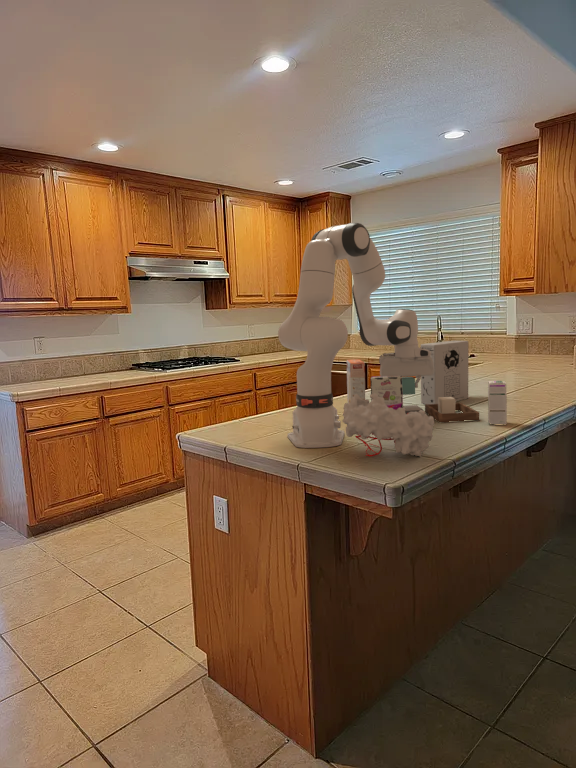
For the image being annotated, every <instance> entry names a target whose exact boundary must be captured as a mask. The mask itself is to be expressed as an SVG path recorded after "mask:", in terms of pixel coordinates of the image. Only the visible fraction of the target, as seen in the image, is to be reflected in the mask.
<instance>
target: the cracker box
mask: <svg viewBox="0 0 576 768" xmlns="http://www.w3.org/2000/svg"><path fill="white" fill-rule="evenodd" d="M365 370H366V363H365V362H364V361H363V360H362V359H359V358H358V359H357V358H355V359H346V387H347V388H346V389H347V391H346V392H347V397H346V398H347V403H348V404H350V403H351V399H352V397H354V395H355V394H358V396H359V397H361V398H363V399H364V400H366V371H365Z"/></svg>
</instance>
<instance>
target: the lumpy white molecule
mask: <svg viewBox="0 0 576 768" xmlns="http://www.w3.org/2000/svg"><path fill="white" fill-rule="evenodd" d="M369 398H370V399H371V398H372V401H371V400H369V399H368V398H367V399H366V398H365V400H364V399H363V398H361V397H359V396H358V394H355V395H354V397H352V399H351V403H350V404H348V402H346V403H343V404H344V405H343V413H342V416H343V419H342V423H344V424H345V425H346V426H345V434H346V436H347V437H348V438H352V437H353V436H354V435H355V436H354V437H355V438H356V439H357V440H359V441H361V442H362V443H363V445H364V446H365V447H367V448H366V450H365V454H366V455H365V456H369V457H375V456H377V455H380V453H381V452H382V451H383V445H382V443H381V441H393V443H394V449H395V452H396V453H398V454H401V453H402V455H411V456H414V455H415V456H414V457H417V456H421V457H422V452H424V451H425V450H426V449H428V448H429V447H430V444H429V442H430V441H431V440H432V438H433V437H434V435H433V431H434V426H435V419H434V418H433V417H432V416H430V415H428V414H427V413H426V412H425V410H424V409H423V410H424V411H423V410H420V411H419V412H416V411H415V412H409V413H407V414H406V413H405V408H398V409H397V410H394V409H393V408H392V407H393V406H394V405H392V406H389V407H387V406H386V405H385V403H384V398H383V397H378V395H377V394H376V393H374V394H371V393H370V395H369ZM390 407H391V408H390ZM369 438H370V440H377V441H378V443H379V445H375V444H373V443H370V442H369V443H367V442H366V441H365V440H366V439H369ZM369 445H371V446H374V447H376V448H380V450H379V451H378V452H376V451H374V450H373V449H372V448H371V446H369ZM368 450H369V451H371V450H372V452H373V453H374V454H369V453H368Z"/></svg>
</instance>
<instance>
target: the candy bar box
mask: <svg viewBox="0 0 576 768" xmlns="http://www.w3.org/2000/svg"><path fill="white" fill-rule="evenodd" d="M374 393H376V394H377V395H378V397H383V398H384V403H385V405H386V406H387V407H389V406H392V405H394V406H393V407H392V408H393V409H394V410H397V409H398V408H403V406H404V398H403V397H404V395H403V391H402V376H381V375H378V376H377V375H375V376H374V375H373V376H371V377H370V395H371V394H374ZM371 401H372V398H370V402H371ZM390 408H391V407H390Z"/></svg>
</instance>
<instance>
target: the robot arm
mask: <svg viewBox="0 0 576 768" xmlns="http://www.w3.org/2000/svg"><path fill="white" fill-rule="evenodd" d="M338 260H340V261H341V260H347V262H348V267H349V269H350V272H351V275H352V279H353V285H352V288H351V289H352V292H351V293H352V299H353V303H354V308H355V312H356V316H357V320H358V326H359V336H360V339H361V341H362V343H363V344H364V345H366V346H369V347H374V346H375V347H376V346H387V347H388V346H394V352H384V353H382V354H380V355H379V358H378V360H379V361H378V362H379V364H380V368H379V376H402V377H415V389H417V388H418V387H419V383H420V382H421V376H427V375H433V373H434V364H433V359H432V358H431V357H429V356H431V351H429V350H426V349H423V348H421V347H420V346H419V341H418V334H419V323H418V315H417V312H416V311H415V310H413V309H408V308H406V309H405V308H399V309H396V310H395V312H394V314H393V315H392V316H390V317H388V318H386V319H378V318H376V317H375V315H374V312H373V308H372V303H371V300H370V299H371V294H372V293H374V292H375V291H377V290H378V289H379V288H380V287H381V286H382V285H383V283H384V281H385V280H386V279H385V278H386V271H385V267H384V263H383V261H382V258H381V256H380V254H379V251H378V249H377V247H376V244H375V243H374V242H373V240H372V238H371V237H370V234H369V230H368V229H367V227H366V226H365V225H364V224H362V223H359V222H349V223H345V224H335V225H332V226H330V227H327V228H325V229H324V228H323V229H320V230H318V231H316V232H315V233H314V235H313V236H312V237H311V240H310V241H309V242H308V243H307V244H306V246H305V248H304V252H303V256H302V260H301V266H300V275H299V286H298V292H297V297H296V301H295V303H294V305H293V308H292V310H291V312H290V314H289V315H288V317H287V318H286V319H285V320H283V322H281V324H280V326H279V328H278V333H277V335H278V340H279V343H280V344H281V346H283V348H286V349H289V350H292V351H296V352H307V354H306V355H307V356H306V359H305V361H304V363H303V364H301V366H299V367H298V368H297V371H296V387H297V388H296V390H297V393H296V394H295V400H296V408H295V409H294V410H293V411H292V432H289V433H287V435H286V436H287V438H288V439H289V441H290V442H292V444H293V445H294V446H295V447H296V448H303V449H305V448H306V449H307V448H308V449H310V448H311V449H314V448H315V449H316V448H330V447H336V446H341V445H342V443H343V440H344V437H345V431H344V430H341V429H340V428H341V422H342V421H341V420H339V419H340V415H339V414H338V409H337V408H336V407H335V406H334V396H333V392H332V368H333V364H334V360H335V357H336V355H337V354H338V353H339V352H340V350H341V349H343V348H344V346H345V345H346V343H347V342H348V341H347V340H348V335H349V333H348V327H347V325H346V324H345V321H343V320H342V319H338V318H335V317H330V316H321V313H322V312H323V310H324V308H325V307H326V306H327V305H329V304H330V303H331V302H332V300H333V295H334V286H335V275H336V261H338Z"/></svg>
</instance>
